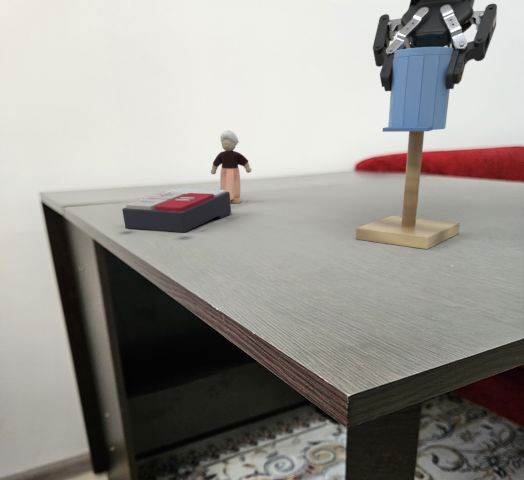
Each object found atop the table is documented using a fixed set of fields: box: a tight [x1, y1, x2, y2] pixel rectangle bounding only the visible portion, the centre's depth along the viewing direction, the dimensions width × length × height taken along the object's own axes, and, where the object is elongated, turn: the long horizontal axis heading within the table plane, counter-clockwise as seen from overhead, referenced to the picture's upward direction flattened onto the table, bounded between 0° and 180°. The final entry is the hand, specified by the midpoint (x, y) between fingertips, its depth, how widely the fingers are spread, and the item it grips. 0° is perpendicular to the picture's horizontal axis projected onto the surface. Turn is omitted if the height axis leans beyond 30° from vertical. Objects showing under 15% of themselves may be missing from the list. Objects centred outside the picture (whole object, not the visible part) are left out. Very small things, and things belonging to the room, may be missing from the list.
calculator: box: [121, 187, 232, 233], centre depth 83 cm, size 11×4×15 cm
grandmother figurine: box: [210, 129, 252, 204], centre depth 97 cm, size 8×4×13 cm, turn 90°
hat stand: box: [355, 131, 461, 250], centre depth 66 cm, size 10×10×18 cm
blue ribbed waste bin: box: [382, 46, 453, 133], centre depth 61 cm, size 9×7×8 cm
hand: (417, 84), depth 61 cm, fingers closed on blue ribbed waste bin, 6 cm apart
